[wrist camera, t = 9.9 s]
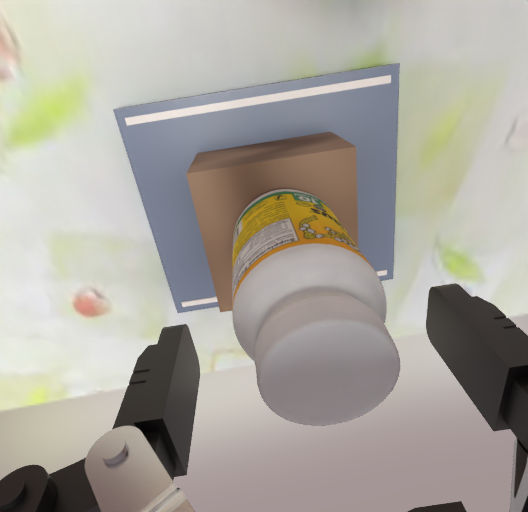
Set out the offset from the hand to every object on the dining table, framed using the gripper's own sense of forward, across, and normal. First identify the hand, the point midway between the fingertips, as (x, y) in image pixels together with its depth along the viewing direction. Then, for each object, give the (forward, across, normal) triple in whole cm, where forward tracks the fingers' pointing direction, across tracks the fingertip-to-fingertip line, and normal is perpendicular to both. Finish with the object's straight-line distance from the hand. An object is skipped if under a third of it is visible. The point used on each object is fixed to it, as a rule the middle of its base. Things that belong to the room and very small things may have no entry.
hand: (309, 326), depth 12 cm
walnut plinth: (+12, 0, 0) cm, 12 cm away
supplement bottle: (+8, 0, 0) cm, 8 cm away
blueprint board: (+13, 0, 0) cm, 13 cm away
